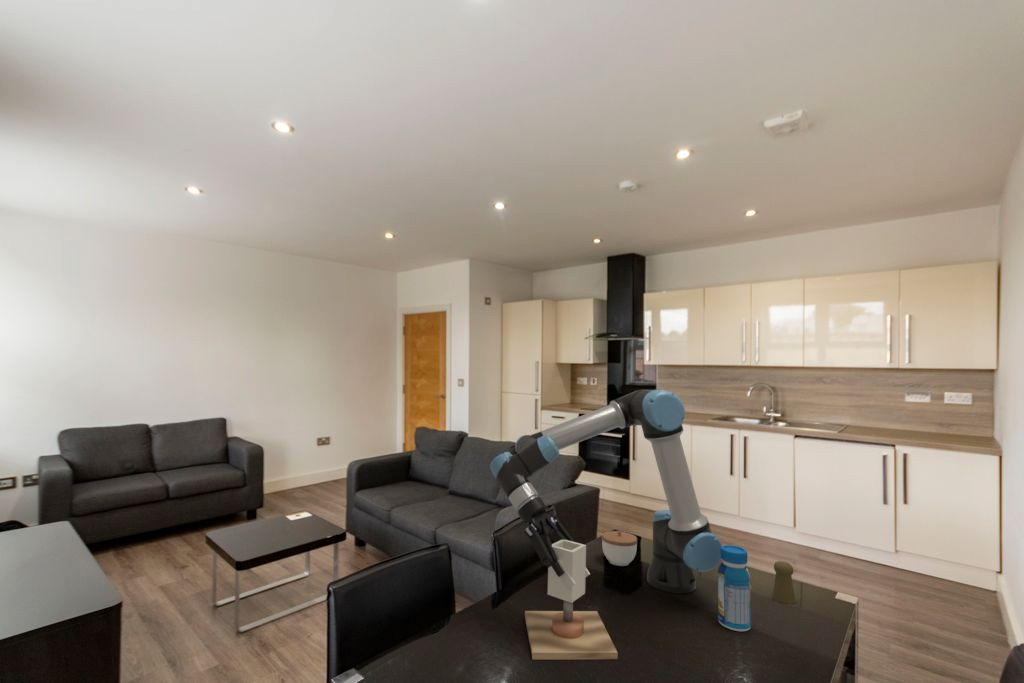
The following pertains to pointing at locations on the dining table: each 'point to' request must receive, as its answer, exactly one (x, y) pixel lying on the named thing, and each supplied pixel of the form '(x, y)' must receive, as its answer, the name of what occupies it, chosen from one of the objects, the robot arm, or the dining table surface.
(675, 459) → the robot arm
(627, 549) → the white lidded jar
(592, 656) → the post board
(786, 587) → the olive pepper shaker
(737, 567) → the beverage bottle
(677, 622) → the dining table surface
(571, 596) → the sleeve
